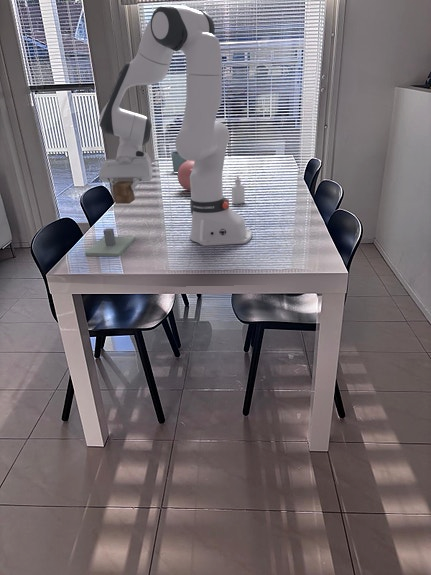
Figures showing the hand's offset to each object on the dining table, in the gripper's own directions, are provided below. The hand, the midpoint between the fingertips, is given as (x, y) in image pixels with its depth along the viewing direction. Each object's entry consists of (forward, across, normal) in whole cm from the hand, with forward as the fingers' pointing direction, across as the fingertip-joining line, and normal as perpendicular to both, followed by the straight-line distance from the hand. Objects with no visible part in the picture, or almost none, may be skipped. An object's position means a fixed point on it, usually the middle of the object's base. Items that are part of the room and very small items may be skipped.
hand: (122, 190), depth 159 cm
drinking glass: (-66, -6, +88) cm, 110 cm away
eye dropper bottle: (-16, +38, +40) cm, 57 cm away
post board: (+23, 0, -1) cm, 23 cm away
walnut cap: (+3, 0, +4) cm, 4 cm away
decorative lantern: (-31, +13, +54) cm, 63 cm away
